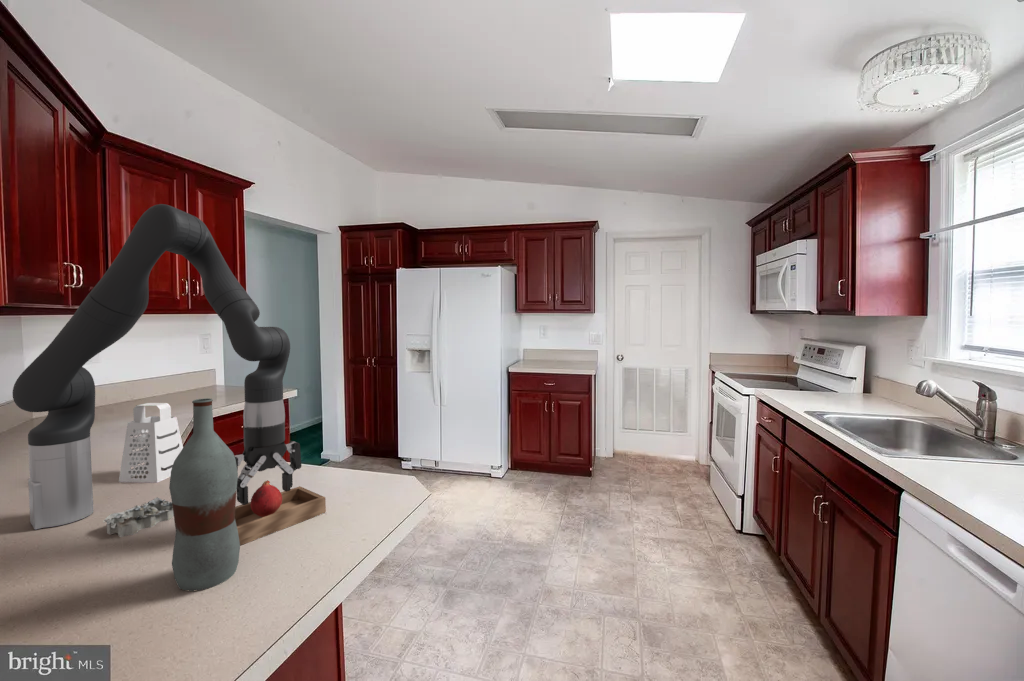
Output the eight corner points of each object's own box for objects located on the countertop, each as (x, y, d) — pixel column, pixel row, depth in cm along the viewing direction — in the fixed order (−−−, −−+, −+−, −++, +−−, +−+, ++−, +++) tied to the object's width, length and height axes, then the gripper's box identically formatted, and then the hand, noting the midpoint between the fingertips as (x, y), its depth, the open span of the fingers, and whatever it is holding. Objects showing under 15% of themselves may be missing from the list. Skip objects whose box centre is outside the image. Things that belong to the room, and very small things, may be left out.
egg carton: (122, 540, 84) (121, 520, 84) (100, 533, 87) (99, 514, 87) (181, 517, 94) (180, 498, 94) (159, 511, 97) (158, 493, 97)
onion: (268, 525, 88) (266, 487, 87) (244, 523, 89) (242, 485, 88) (288, 512, 93) (287, 476, 93) (266, 510, 95) (264, 475, 94)
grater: (157, 482, 114) (154, 408, 113) (118, 482, 114) (115, 407, 113) (187, 469, 124) (185, 400, 123) (152, 468, 125) (150, 400, 124)
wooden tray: (225, 551, 80) (224, 533, 80) (202, 534, 86) (201, 517, 86) (325, 512, 96) (325, 497, 96) (300, 500, 102) (299, 486, 102)
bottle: (163, 599, 66) (157, 406, 65) (182, 568, 74) (176, 397, 73) (235, 585, 70) (230, 402, 68) (245, 556, 78) (240, 393, 77)
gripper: (289, 413, 98) (290, 482, 99) (218, 425, 86) (220, 503, 87) (306, 417, 94) (307, 490, 94) (234, 430, 82) (236, 513, 83)
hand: (265, 496), depth 91 cm, fingers open, 8 cm apart
